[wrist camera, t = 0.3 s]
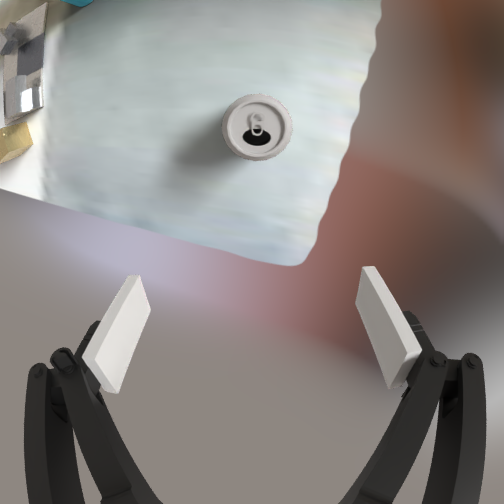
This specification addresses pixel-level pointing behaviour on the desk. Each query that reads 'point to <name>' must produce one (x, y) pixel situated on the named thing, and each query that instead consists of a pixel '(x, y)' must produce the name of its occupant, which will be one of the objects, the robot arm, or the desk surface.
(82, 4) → the tube
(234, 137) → the can
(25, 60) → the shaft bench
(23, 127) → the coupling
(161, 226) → the desk surface
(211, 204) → the desk surface
